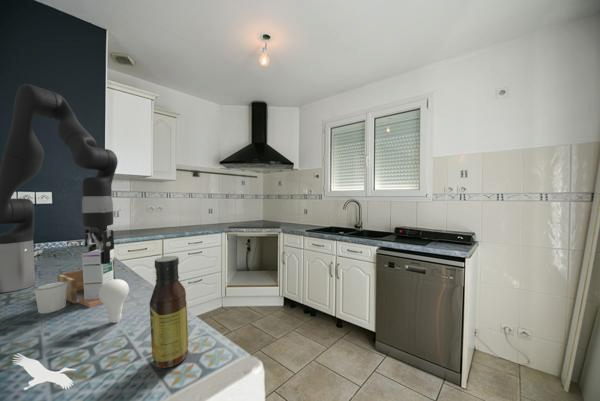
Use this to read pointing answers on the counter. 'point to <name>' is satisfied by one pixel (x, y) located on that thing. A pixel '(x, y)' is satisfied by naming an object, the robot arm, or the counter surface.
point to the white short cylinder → (51, 297)
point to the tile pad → (90, 302)
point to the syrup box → (96, 273)
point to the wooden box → (72, 284)
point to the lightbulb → (114, 298)
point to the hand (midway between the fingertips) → (99, 262)
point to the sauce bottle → (168, 315)
